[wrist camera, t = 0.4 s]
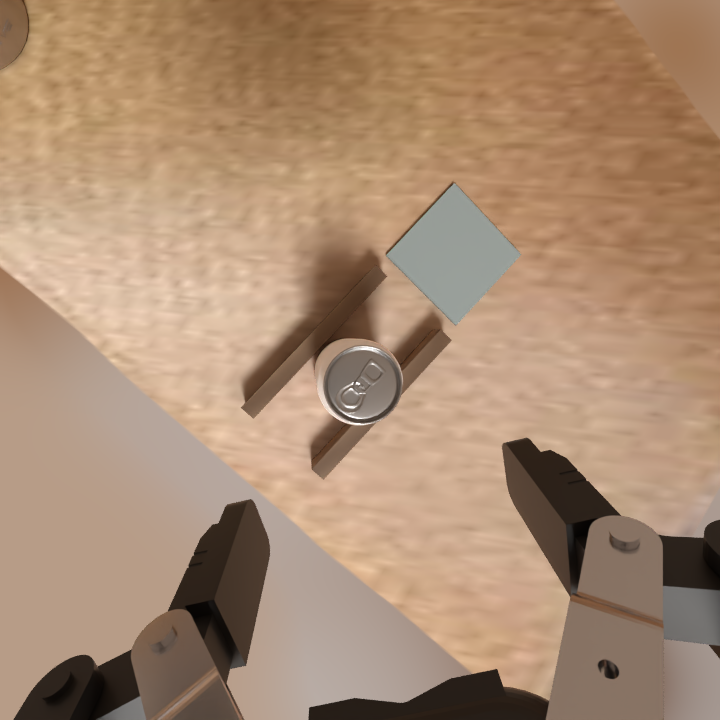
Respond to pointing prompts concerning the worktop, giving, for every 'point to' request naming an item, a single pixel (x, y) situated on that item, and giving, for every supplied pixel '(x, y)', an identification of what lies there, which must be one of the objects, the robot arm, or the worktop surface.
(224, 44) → the worktop surface
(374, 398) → the can
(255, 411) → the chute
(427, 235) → the pad
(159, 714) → the robot arm
